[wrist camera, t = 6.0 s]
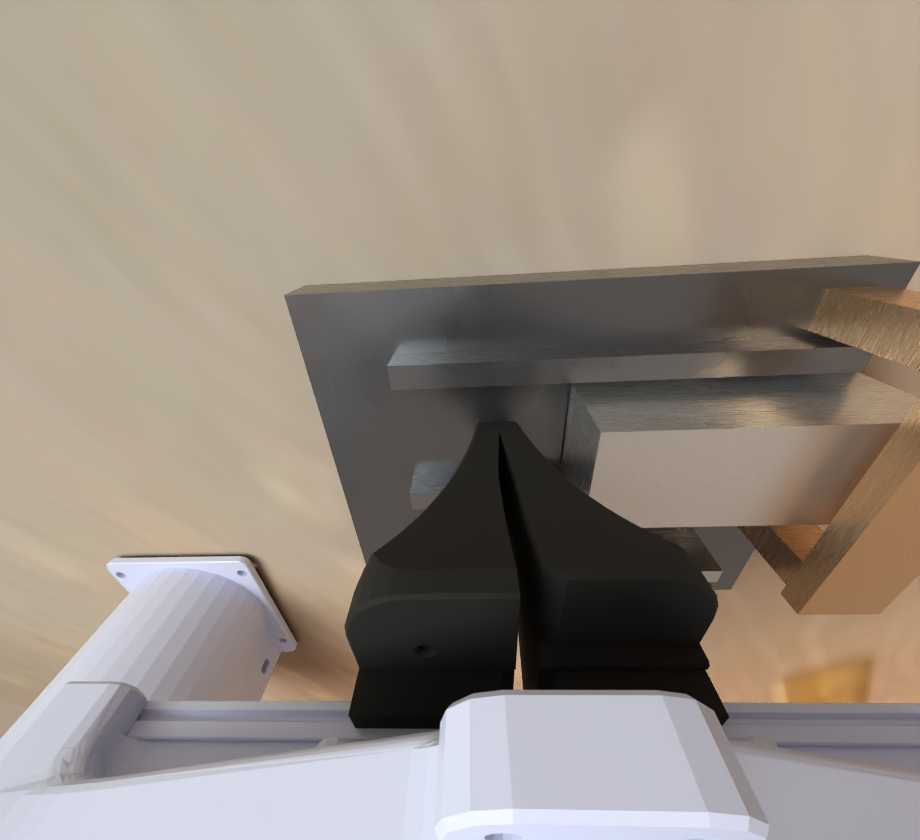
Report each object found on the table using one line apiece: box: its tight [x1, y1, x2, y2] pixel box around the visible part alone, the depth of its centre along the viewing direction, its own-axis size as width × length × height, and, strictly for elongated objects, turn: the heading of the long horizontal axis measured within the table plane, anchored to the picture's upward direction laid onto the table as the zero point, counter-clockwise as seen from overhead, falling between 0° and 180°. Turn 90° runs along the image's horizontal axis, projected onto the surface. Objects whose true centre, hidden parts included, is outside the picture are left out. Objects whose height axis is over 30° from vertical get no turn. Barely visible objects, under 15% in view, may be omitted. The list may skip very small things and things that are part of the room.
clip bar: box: [561, 372, 919, 528], centre depth 11 cm, size 4×9×3 cm, turn 93°
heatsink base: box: [284, 256, 920, 614], centre depth 13 cm, size 15×18×6 cm
